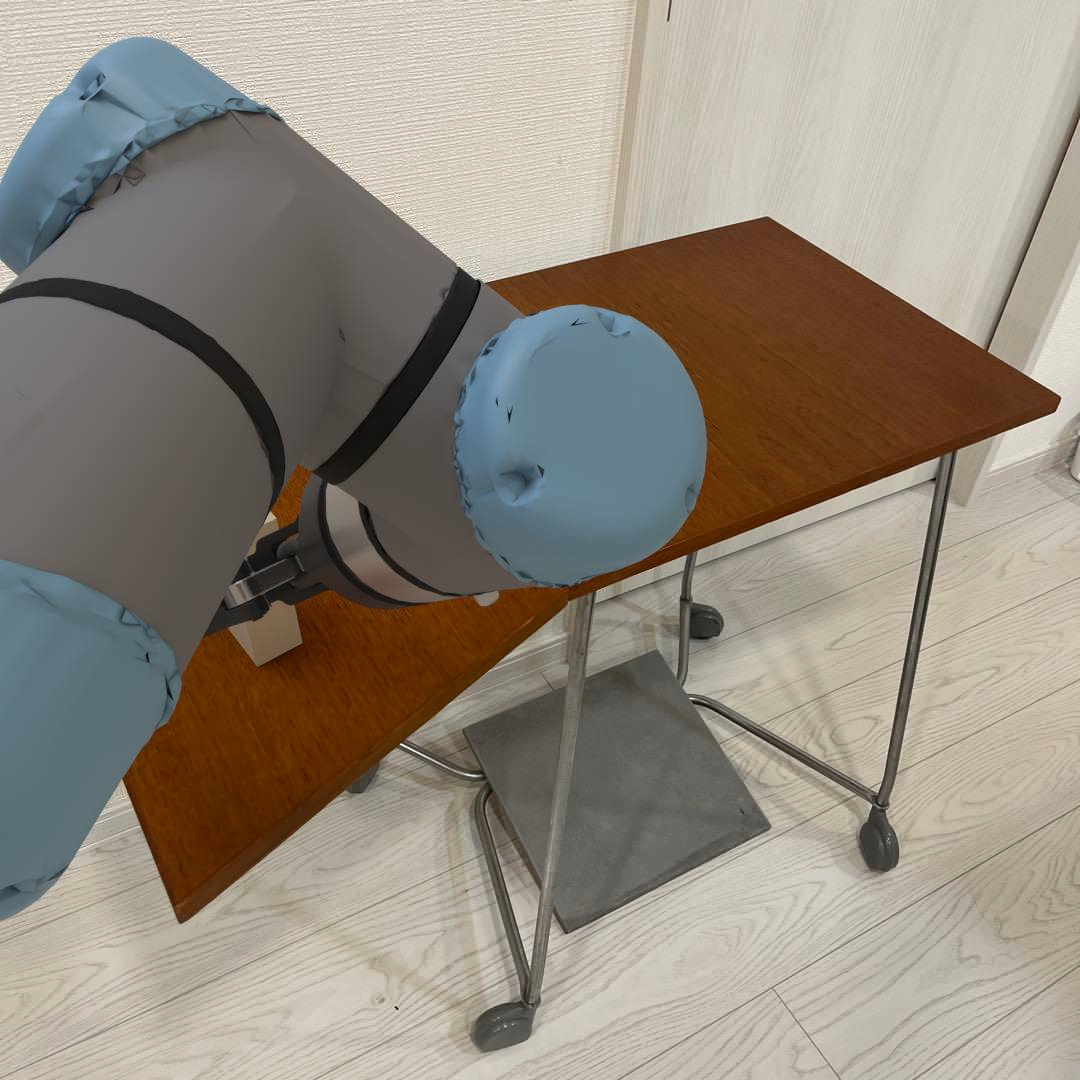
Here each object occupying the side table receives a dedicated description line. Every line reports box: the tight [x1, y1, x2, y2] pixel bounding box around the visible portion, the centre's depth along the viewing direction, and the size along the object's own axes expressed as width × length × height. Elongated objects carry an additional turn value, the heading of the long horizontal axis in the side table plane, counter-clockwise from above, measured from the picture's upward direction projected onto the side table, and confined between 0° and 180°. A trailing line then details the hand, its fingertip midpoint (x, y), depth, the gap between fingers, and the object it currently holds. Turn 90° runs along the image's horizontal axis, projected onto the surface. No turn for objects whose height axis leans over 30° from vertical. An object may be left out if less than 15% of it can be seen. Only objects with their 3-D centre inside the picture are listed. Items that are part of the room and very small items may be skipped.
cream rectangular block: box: [227, 510, 303, 667], centre depth 68 cm, size 4×8×12 cm, turn 39°
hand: (284, 562), depth 59 cm, fingers open, 13 cm apart
